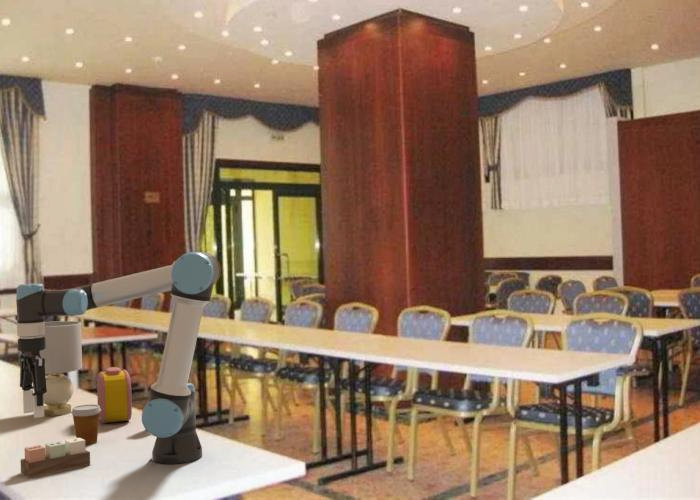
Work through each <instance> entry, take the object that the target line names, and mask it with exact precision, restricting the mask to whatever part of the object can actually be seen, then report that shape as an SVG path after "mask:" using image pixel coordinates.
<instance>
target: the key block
mask: <svg viewBox="0 0 700 500" xmlns="http://www.w3.org/2000/svg"><path fill="white" fill-rule="evenodd" d="M88 466H91V453H90V451H88V450H87V449H86V452H83V453H78V454H73V455H69V454H67V453H66V456H63V457H58V458H53V459H49V458H47V457H46V454H45V460H43V461H38V462H33V463H28V462H26V461H25V458H21V459H20V474H22V473H23V474H24V476H25V477H26V478H29V479H31V478H36V477H43V476H46V475H51V474H54V473H56V474H57V473H59V472H63V471H65V472H66V471H69V470H74V469H79V468H85V467H88ZM23 474H22V475H23Z"/></svg>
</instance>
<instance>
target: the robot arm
mask: <svg viewBox="0 0 700 500" xmlns="http://www.w3.org/2000/svg"><path fill="white" fill-rule="evenodd" d="M220 277H221V264H220V262H219V261H218V259H217V258H216V257H215V255H213V254H212V253H210V252H206V251H189V252H185V253H184V254H182V255H181V256H180V257H178V258H177V259H176V260H174V261H173V263H172V264H171V265H165V266H162V267H157V268H154V269H149V270H143V271H141V272H136V273H132V274H127V275H124V276H120V277H116V278H115V277H114V278H111V279H106V280H103V281H99V282H96V283H95V282H94V283H91V284H85V285H81V286H76V287H73V288H68V289H59V290H58V289H56V290H54V289H53V290H49V289H48V290H47V289H46V290H45V286H44V284H43V283H24V284H23V283H22V284H19V285H18V286H17V287H16V297H15V302H16V336H17V337H18V339H17V350H18V352H23V354H20V355H19V360H20V367H19V368H20V370H19V371H20V374H19V387H20V388H21V390H22V400H23V402H22V403H23V407H22V408H23V414H29V413H33V419H36V418H43V417H45V416H44V406H45V404H44V393H46V392H47V388H46V377H47V376H46V374H45V359H44V358H41V356H40V351H41V350H44V349H45V348H46V342H45V337H43V335H45V327H46V324H45V322H46V320H45V319H46V317H55V316H56V317H59V316H60V317H74V316H75V317H76V316H82V315H85V313H86V312H87V311H90V310H93V309H98V308H101V307H105V306H110V305H113V304H119V303H123V302H127V301H131V300H135V299H136V300H137V299H140V298H144V297H148V296H149V297H150V296H152V295H158V294H160V293H161V294H162V293H166V292H170V293H169V294H170V297H171V298H172V299H173V305H172V311H171V314H170V319H169V325H168V329H167V334H166V339H165V344H164V349H163V353H162V358H161V362H160V368H159V373H158V378H157V381H155V382H154V383H153V384H151V385H150V390H149V395H148V399H147V403H146V404H145V405H144V407H143V410H142V413H141V423H142V426H143V427H144V429H145V430H146V432H147V433H148V434H150V435H151V436H153V437H155V441H154V445H153V448H152V454H151V457H152V459H151V460H152V461H153V462H154V463H158V464H166V465H170V464H171V465H174V464H175V465H176V464H185V463H190V462H194V461H196V460H199V459H200V458H202V457H203V447H202V445H201V442H200V439H199V435H198V433H197V426H196V425H197V421H196V419H197V417H196V390H195V385H194V384H193V383H191V382H189V379H190V374H191V368H192V364H193V359H194V355H195V349H196V345H197V341H198V340H197V339H198V336H199V330H200V325H201V320H202V316H203V312H204V307H205V306H206V305H207V304H209V303H210V302H211V300H212V299H211V298H212V294H213V290H214V286H215V284H217V282H218V281H219V279H220Z"/></svg>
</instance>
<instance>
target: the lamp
mask: <svg viewBox="0 0 700 500" xmlns="http://www.w3.org/2000/svg"><path fill="white" fill-rule="evenodd" d="M45 324H46V327H45V335H43V337H45V342H46V348H45V349H44V350H41V351H40V356H41V358H44V359H45V375H47V376H45V377H46V388H47V392H46V393H44V417H57V416H63V415H69V414H70V413H71V412H72V404H70V403H68V402H69V401H70V400H71V398H72V397H73V395H74V385H73V382H72V381H71V379H70V378H69V377H68V376H67V375H65V374H64V373H70V372H76V371H79V370H81V369H83V350H82V346H83V345H82V344H83V343H82V322H81V321H75V320H74V321H73V320H72V321H71V320H61V321H60V320H59V321H57V320H56V321H45ZM71 414H72V413H71Z"/></svg>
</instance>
